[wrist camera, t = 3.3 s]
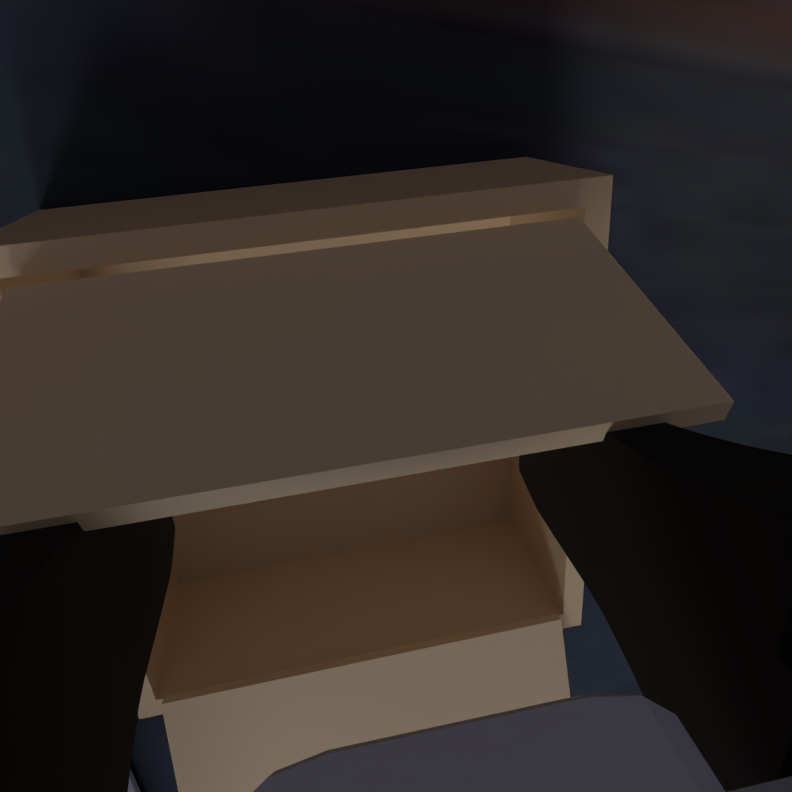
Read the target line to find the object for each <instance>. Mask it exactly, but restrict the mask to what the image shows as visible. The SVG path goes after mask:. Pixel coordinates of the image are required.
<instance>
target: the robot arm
mask: <svg viewBox="0 0 792 792" xmlns="http://www.w3.org/2000/svg"><path fill="white" fill-rule="evenodd" d="M519 471H520V473H521V475H522V478H523V480H524V482H525V485H526V487H527V489H528V491H529V494H530V496H531V498H532V500H533V502H534V504H535V506H536V508H537V510H538V512H539V513H540V515H541V516H542V518H543V520H544V521H545V523H546V524H547V526H548V527H549V529H550V531H551V532H552V534H553V535H554V537H555V538H556V540H557V541H558V543H559V545H560V546H561V548H562V549H563V551H564V552H565V554H566V555H567V557H568V558H569V560H570V561H571V563H572V564H573V566H574V568H575V569H576V571H577V572H578V574H579V575H580V577H581V578H582V580H583V581H584V583H585V584H586V586H587V587H588V589H589V590H590V592H591V594H592V595H593V597H594V599H595V600H596V602H597V604H598V605H599V607H600V609H601V611H602V612H603V614H604V616H605V618H606V620H607V622H608V624H609V626H610V628H611V630H612V632H613V634H614V636H615V638H616V640H617V642H618V644H619V646H620V648H621V650H622V652H623V654H624V656H625V658H626V660H627V662H628V664H629V666H630V668H631V670H632V672H633V674H634V677H635V679H636V681H637V683H638V685H639V687H640V689H641V691H642V693H643V696H644V697H643V696H641V695H635V694H596V695H579V696H574V697H570V698H565V699H561V700H556V701H551V702H547V703H542V704H538V705H533V706H528V707H524V708H519V709H514V710H510V711H505V712H501V713H496V714H491V715H487V716H482V717H478V718H473V719H468V720H464V721H459V722H455V723H450V724H445V725H441V726H436V727H432V728H427V729H422V730H418V731H413V732H409V733H404V734H399V735H395V736H390V737H386V738H381V739H376V740H372V741H367V742H363V743H358V744H353V745H349V746H344V747H340V748H335V749H330V750H327V751H324V752H322V753H319V754H317V755H314V756H312V757H309V758H307V759H304V760H302V761H299V762H297V763H294V764H292V765H289V766H287V767H284V768H282V769H279V770H277V771H274V772H273V773H272V774H271V775H270V776H269V777H268V778H266V779H265V780H264V781H263V782H262V783H261V784H260V785H259V786H258V787H257V788H256V789H255V790H254V791H253V792H792V455H790V454H785V453H779V452H774V451H769V450H764V449H759V448H754V447H750V446H745V445H741V444H737V443H733V442H729V441H726V440H722V439H718V438H714V437H711V436H707V435H703V434H700V433H696V432H693V431H690V430H687V429H683V428H680V427H678V426H675V425H672V424H669V423H666V422H665V423H659V424H653V425H647V426H642V427H636V428H630V429H624V430H618V431H612V432H606V434H605V437H604V440H603V441H600V442H594V443H589V444H583V445H577V446H571V447H566V448H560V449H554V450H549V451H543V452H537V453H531V454H526V455H520V456H519ZM174 538H175V524H174V521H173V518H172V516H170V517H165V518H159V519H153V520H147V521H142V522H136V523H130V524H125V525H119V526H113V527H107V528H102V529H96V530H90V531H84V530H83V529H82V528H81V526H80V525H79V523H78V522H75V523H69V524H63V525H57V526H52V527H46V528H40V529H34V530H28V531H22V532H16V533H10V534H4V535H0V792H140V789H139V787H138V785H137V783H136V780H135V778H134V776H133V773H132V771H131V769H130V767H131V759H132V752H133V745H134V738H135V730H136V723H137V716H138V709H139V703H140V698H141V694H142V689H143V684H144V679H145V675H146V671H147V668H148V664H149V660H150V656H151V652H152V648H153V644H154V640H155V636H156V632H157V628H158V624H159V620H160V616H161V613H162V609H163V604H164V600H165V596H166V592H167V588H168V584H169V580H170V575H171V569H172V560H173V550H174Z"/></svg>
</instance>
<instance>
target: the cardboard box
mask: <svg viewBox="0 0 792 792" xmlns="http://www.w3.org/2000/svg"><path fill="white" fill-rule="evenodd" d="M612 183H613V175H610V174H605V173H601V172H596V171H591V170H587V169H582V168H577V167H572V166H568V165H563V164H558V163H553V162H549V161H544V160H539V159H534V158H530V157H519V158H510V159H501V160H492V161H483V162H474V163H464V164H455V165H446V166H437V167H428V168H419V169H409V170H400V171H391V172H382V173H373V174H364V175H355V176H345V177H336V178H327V179H318V180H309V181H300V182H291V183H281V184H272V185H263V186H254V187H245V188H236V189H226V190H217V191H208V192H199V193H190V194H181V195H172V196H162V197H153V198H144V199H135V200H126V201H117V202H107V203H98V204H89V205H80V206H71V207H62V208H53V209H43V210H38V211H36V212H33V213H31V214H29V215H27V216H25V217H23V218H20V219H18V220H16V221H14V222H12V223H10V224H8V225H5V226H3V227H1V228H0V302H1V299H2V297H3V295H4V292H5V290H6V288H10V287H18V286H26V285H34V284H42V283H50V282H58V281H66V280H74V279H82V278H90V277H99V276H107V275H115V274H123V273H131V272H139V271H147V270H155V269H163V268H171V267H179V266H187V265H195V264H203V263H212V262H220V261H228V260H236V259H244V258H252V257H260V256H268V255H276V254H284V253H292V252H300V251H308V250H316V249H324V248H333V247H341V246H349V245H357V244H365V243H373V242H381V241H389V240H397V239H405V238H413V237H421V236H429V235H437V234H446V233H454V232H462V231H470V230H478V229H486V228H494V227H502V226H510V225H518V224H526V223H534V222H542V221H550V220H559V219H567V218H575V217H580V218H581V220H582V221H583V222H584V223H585V224H586V226H587V227H588V228H589V229H590V230H591V231H592V233H593V234H594V235H595V236H596V237H597V239H598V240H599V241H600V242H601V243H602V245H603V246H604V247H605V248H606V249H607V251H608V239H609V225H610V211H611V197H612ZM172 518H173V521H174V524H175V538H174V550H173V560H172V569H171V575H170V580H169V584H168V588H167V592H166V596H165V600H164V604H163V609H162V613H161V616H160V620H159V624H158V628H157V632H156V636H155V640H154V644H153V648H152V652H151V656H150V660H149V664H148V668H147V671H146V675H145V679H144V684H143V689H142V694H141V698H140V703H139V709H138V717H139V719H143V718H148V717H152V716H157V715H162V714H163V712H162V707H161V703H162V701H163V698H164V696H166V695H171V694H175V693H180V692H185V691H190V690H194V689H199V688H204V687H209V686H213V685H218V684H223V683H228V682H232V681H237V680H242V679H247V678H251V677H256V676H261V675H266V674H270V673H275V672H280V671H285V670H289V669H294V668H299V667H304V666H308V665H313V664H318V663H323V662H327V661H332V660H337V659H341V658H346V657H351V656H356V655H360V654H365V653H370V652H375V651H379V650H384V649H389V648H394V647H398V646H403V645H408V644H413V643H417V642H422V641H427V640H432V639H436V638H441V637H446V636H451V635H455V634H460V633H465V632H470V631H474V630H479V629H484V628H489V627H493V626H498V625H503V624H508V623H512V622H517V621H522V620H527V619H531V618H536V617H541V616H546V615H550V614H555V613H556V614H557V615H558V616H559V618H560V619H561V622H562V629H563V628H567V627H572V626H577V625H581V616H582V602H583V588H584V581H583V580H582V578H581V577H580V575H579V574H578V572H577V571H576V569H575V568H574V566H573V564H572V563H571V561H570V560H569V558H568V557H567V555H566V554H565V552H564V551H563V549H562V548H561V546H560V545H559V543H558V541H557V540H556V538H555V537H554V535H553V534H552V532H551V531H550V529H549V527H548V526H547V524H546V523H545V521H544V520H543V518H542V516H541V515H540V513H539V512H538V510H537V508H536V506H535V504H534V502H533V500H532V498H531V496H530V494H529V491H528V489H527V487H526V485H525V482H524V480H523V478H522V475H521V473H520V471H519V456H514V457H508V458H503V459H497V460H491V461H486V462H480V463H474V464H468V465H463V466H457V467H451V468H445V469H440V470H434V471H428V472H422V473H417V474H411V475H405V476H400V477H394V478H388V479H382V480H377V481H371V482H365V483H359V484H354V485H348V486H342V487H337V488H331V489H325V490H319V491H314V492H308V493H302V494H296V495H291V496H285V497H279V498H273V499H268V500H262V501H256V502H251V503H245V504H239V505H233V506H228V507H222V508H216V509H210V510H205V511H199V512H193V513H188V514H182V515H176V516H172Z"/></svg>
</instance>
